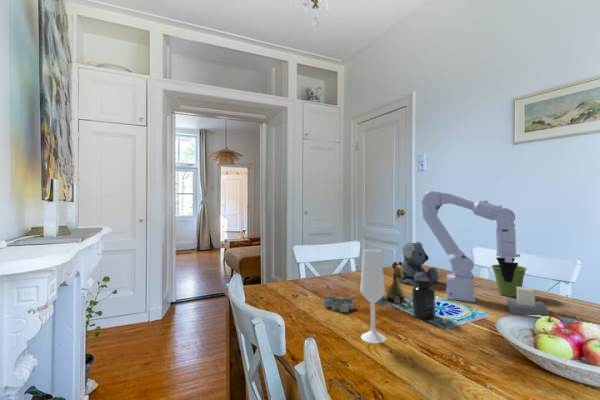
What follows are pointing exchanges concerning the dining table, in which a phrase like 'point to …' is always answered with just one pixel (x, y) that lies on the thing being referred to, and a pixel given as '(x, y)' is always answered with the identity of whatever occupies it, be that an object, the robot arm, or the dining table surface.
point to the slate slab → (527, 308)
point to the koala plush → (416, 264)
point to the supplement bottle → (423, 299)
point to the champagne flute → (372, 288)
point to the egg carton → (339, 303)
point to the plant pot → (509, 287)
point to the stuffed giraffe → (394, 288)
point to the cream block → (526, 296)
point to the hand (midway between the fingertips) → (507, 279)
